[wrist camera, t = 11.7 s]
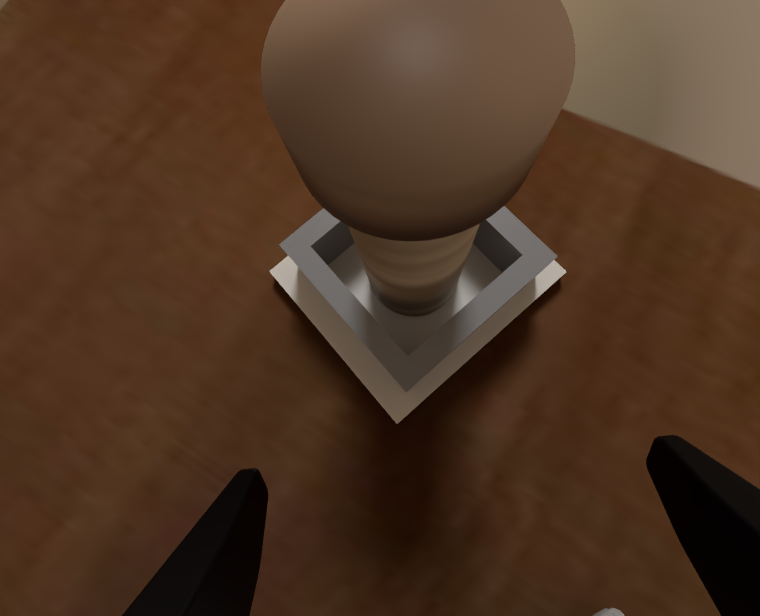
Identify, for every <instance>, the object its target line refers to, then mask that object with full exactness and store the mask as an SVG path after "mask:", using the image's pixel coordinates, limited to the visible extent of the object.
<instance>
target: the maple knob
mask: <svg viewBox="0 0 760 616" xmlns="http://www.w3.org/2000/svg"><path fill="white" fill-rule="evenodd" d="M574 67H575V43H574V37H573V31H572V27H571V24H570V21H569V18H568V16H567V12H566V10H565V8H564V6H563V4H562V3H561V1H560V0H285V2H284V3H283V5H282V6H281V8H280V9H279V11H278V12H277V14H276V16H275V18H274V20H273V22H272V24H271V26H270V29H269V32H268V35H267V37H266V40H265V44H264V49H263V54H262V60H261V81H262V90H263V95H264V99H265V102H266V106H267V109H268V111H269V114H270V116H271V118H272V120H273V122H274V125H275V127H276V129H277V130H278V132H279V134H280V136H281V138H282V140H283V142H284V144H285V146H286V148H287V150H288V152H289V154H290V156H291V158H292V160H293V162H294V164H295V166H296V168H297V170H298V172H299V173H300V175H301V177H302V179H303V181H304V183H305V185H306V186H307V188H308V190H309V191H310V193H311V194H312V196H313V197H314V198H315V199H316V200H317V201H318V203H319V204H320V205H321V206H322V207H323V208H324V209H325V210H326V211H328V212H329V213H330V214H331V215H332V216H333V217H335V218H336V219H338V220H339V221H341V222H342V223H344V224H346V225H347V226H348V227H349V230H350V232H351V235H352V237H353V240H354V243H355V245H356V248H357V250H358V253H359V256H360V258H361V261H362V263H363V266H364V269H365V271H366V274H367V276H368V279H369V282H370V284H371V287H372V289H373V292H374V294H375V295H376V297H377V299H378V300H379V301H380V302H381V303H382V304H383V305H384V306H385V307H386V308H388V309H389V310H391V311H393V312H395V313H397V314H400V315H404V316H423V315H427V314H430V313H432V312H434V311H436V310H438V309H439V308H441V307H442V306H443V305H444V304H445V303H446V302H447V301H448V300H449V299H450V297H451V296H452V294H453V292H454V290H455V288H456V285H457V283H458V280H459V277H460V275H461V272H462V269H463V267H464V264H465V262H466V259H467V256H468V254H469V251H470V249H471V246H472V243H473V241H474V238H475V235H476V233H477V230H478V228H479V225H480V223H481V222H483V221H484V220H486V219H488V218H489V217H491V216H492V215H494V214H495V213H496V212H497V211H498V210H500V209H501V208H502V207H503V206H504V205H505V204H506V203H507V202H508V201H509V200H510V199H511V198H512V197H513V196H514V195H515V194H516V192H517V191H518V189H519V188H520V187H521V185H522V184H523V182H524V181H525V179H526V177H527V175H528V173H529V171H530V169H531V167H532V165H533V163H534V162H535V160H536V158H537V156H538V154H539V152H540V150H541V148H542V146H543V144H544V142H545V140H546V138H547V136H548V134H549V132H550V130H551V128H552V126H553V124H554V123H555V121H556V119H557V117H558V115H559V113H560V111H561V109H562V107H563V105H564V103H565V101H566V99H567V95H568V93H569V90H570V87H571V83H572V79H573V73H574Z"/></svg>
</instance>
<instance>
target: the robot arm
mask: <svg viewBox="0 0 760 616" xmlns="http://www.w3.org/2000/svg"><path fill="white" fill-rule="evenodd" d="M646 465H647V469H648V472H649V474H650V476H651V479H652V481H653V483H654V485H655V488H656V490H657V492H658V494H659V497H660V499H661V501H662V503H663V506H664V508H665V510H666V512H667V515H668V517H669V519H670V521H671V524H672V526H673V528H674V530H675V532H676V535H677V537H678V539H679V541H680V543H681V545H682V547H683V548H684V550H685V552H686V554H687V556H688V557H689V559H690V561H691V563H692V565H693V566H694V568H695V570H696V572H697V574H698V575H699V577H700V579H701V581H702V582H703V584H704V586H705V588H706V590H707V591H708V593H709V595H710V597H711V598H712V600H713V602H714V604H715V606H716V607H717V609H718V611H719V613H720V614H721V616H760V489H758V488H757V487H755V486H754V485H752V484H751V483H749V482H748V481H746V480H745V479H743V478H742V477H740V476H739V475H737V474H736V473H734V472H733V471H731V470H730V469H728V468H726V467H725V466H723V465H722V464H720V463H719V462H717V461H716V460H714V459H713V458H711V457H710V456H708V455H707V454H705V453H704V452H702V451H701V450H699V449H698V448H696V447H695V446H693V445H692V444H690V443H689V442H687V441H686V440H684V439H682V438H681V437H678V436H675V435H669V436H658V437H656V438H655V439H654V441H653V443H652V446H651V449H650V451H649V454H648V456H647V459H646ZM267 503H268V490H267V487H266V484H265V482H264V480H263V478H262V476H261V473H260V471H259V470H258V469H256V468H253V469H242V470H240V471H239V472H237V474H236V475H235V476H234V477H233V479H232V480H231V481H230V482H229V483H228V485H227V486H226V487H225V488H224V490H223V491H222V492H221V493H220V495H219V496H218V497H217V498H216V500H215V501H214V502H213V503H212V505H211V506H210V507H209V508H208V510H207V511H206V512H205V513H204V515H203V516H202V517H201V518H200V519H199V521H198V522H197V523H196V524H195V526H194V527H193V528H192V529H191V531H190V532H189V533H188V534H187V536H186V537H185V538H184V539H183V541H182V542H181V543H180V544H179V546H178V547H177V548H176V549H175V551H174V552H173V553H172V554H171V555H170V557H169V558H168V559H167V560H166V562H165V563H164V564H163V565H162V567H161V568H160V569H159V570H158V572H157V573H156V574H155V575H154V577H153V578H152V579H151V580H150V582H149V583H148V584H147V585H146V587H145V588H144V589H143V590H142V591H141V593H140V594H139V595H138V596H137V598H136V599H135V600H134V601H133V603H132V604H131V605H130V606H129V608H128V609H127V610H126V611H125V613H124V614H123V615H122V616H249V615H250V611H251V606H252V601H253V597H254V592H255V588H256V583H257V579H258V574H259V569H260V562H261V554H262V546H263V537H264V529H265V520H266V512H267Z"/></svg>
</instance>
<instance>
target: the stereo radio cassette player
mask: <svg viewBox="0 0 760 616" xmlns="http://www.w3.org/2000/svg"><path fill="white" fill-rule="evenodd" d="M593 616H625V615H624V614H623V613H622V612H621V611H620V610H617V609H615V608H610V609H606V608H605V609H603V610H601V611H599V612H598V613H596V614H594V615H593Z"/></svg>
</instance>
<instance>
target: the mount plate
mask: <svg viewBox="0 0 760 616" xmlns="http://www.w3.org/2000/svg"><path fill="white" fill-rule="evenodd" d="M279 245H280V246H281V248H282V249H283V250H284V251H285V252H286V253H287V255H288V256H287V257H286V258H285V259H284V260H282V261H281V262H280V263H279V264H278V265H276V266H275V267H274V268H273V269H272V270H270V271H269V272H270V273H271V274H272V275H273V276H274V278H275V279H276V280H277V281H278V282H279V284H280V285H281V286H282V287H283V288H284V290H285V291H286V292H287V293H288V294H289V296H290V297H291V298H292V299H293V300H294V302H295V303H296V304H297V305H298V306H299V308H300V309H301V310H302V311H303V312H304V314H305V315H306V316H307V317H308V318H309V320H310V321H311V322H312V323H313V324H314V326H315V327H316V328H317V329H318V330H319V332H320V333H321V334H322V335H323V336H324V337H325V339H326V340H327V341H328V342H329V343H330V345H331V346H332V347H333V348H334V349H335V351H336V352H337V353H338V354H339V355H340V357H341V358H342V359H343V360H344V361H345V363H346V364H347V365H348V366H349V367H350V369H351V370H352V371H353V372H354V373H355V375H356V376H357V377H358V378H359V379H360V381H361V382H362V383H363V384H364V385H365V387H366V388H367V389H368V390H369V391H370V393H371V394H372V395H373V396H374V397H375V399H376V400H377V401H378V402H379V403H380V405H381V406H382V407H383V408H384V409H385V411H386V412H387V413H388V414H389V415H390V417H391V418H392V419H393V420H394V421H395V423H396V424H398V423H399V422H400V421H401V420H402V419H403V418H405V417H406V416H407V415H408V414H409V413H410V412H411V411H412V410H414V409H415V408H416V407H417V406H418V405H419V404H420V403H421V402H422V401H424V400H425V399H426V398H427V397H428V396H429V395H430V394H431V393H432V392H434V391H435V390H436V389H437V388H438V387H439V386H440V385H441V384H442V383H444V382H445V381H446V380H447V379H448V378H449V377H450V376H451V375H452V374H454V373H455V372H456V371H457V370H458V369H459V368H460V367H461V366H462V365H464V364H465V363H466V362H467V361H468V360H469V359H470V358H471V357H472V356H474V355H475V354H476V353H477V352H478V351H479V350H480V349H481V348H482V347H484V346H485V345H486V344H487V343H488V342H489V341H490V340H491V339H492V338H494V337H495V336H496V335H497V334H498V333H499V332H500V331H501V330H502V329H504V328H505V327H506V326H507V325H508V324H509V323H510V322H511V321H513V320H514V319H515V318H516V317H517V316H518V315H519V314H520V313H521V312H523V311H524V310H525V309H526V308H527V307H528V306H529V305H530V304H531V303H533V302H534V301H535V300H536V299H537V298H538V297H539V296H540V295H541V294H543V293H544V292H545V291H546V290H547V289H548V288H549V287H550V286H551V285H553V284H554V283H555V282H556V281H557V280H558V279H559V278H560V277H561V276H563V275H564V274H565V273H566V271H565V270H564V269H563V268H562V267H561V266H560V265H559V264H558V263H557V262H556V261H555V260H554V259H556V258H557V257H558V256H557V255H556V254H555V253H553V252H552V251H551V250H550V249H549V248H548V247H547V246H546V245H545V244H544V243H543V242H542V241H541V240H540V239H539V238H538V237H536V236H535V235H534V234H533V233H532V232H531V231H530V230H529V229H528V228H527V227H526V226H525V225H524V224H523V223H522V222H520V221H519V220H518V219H517V218H516V217H515V216H514V215H513V214H512V213H511V212H510V211H509V210H508V209H507V208H506V207H505V206H503V207H502V208H501V209H500V210H498V211H497V212H496V213H495V214H494V215H492V216H491V217H489V218H488V219H486V220H484V221H483V222H481V223H480V225H479V228H478V230H477V233H476V235H475V238H474V241H473V243H472V246H471V249H470V251H469V254H468V256H467V259H466V262H465V264H464V267H463V269H462V272H461V275H460V277H459V280H458V283H457V285H456V288H455V290H454V292H453V294H452V296H451V297H450V299H449V300H448V301H447V302H446V303H445V304H444V305H443V306H442V307H441V308H439V309H438V310H436V311H434V312H432V313H430V314H427V315H423V316H404V315H400V314H397V313H395V312H393V311H391V310H389V309H388V308H386V307H385V306H384V305H383V304H382V303H381V302H380V301H379V300H378V299H377V297H376V295H375V294H374V292H373V289H372V287H371V284H370V282H369V279H368V276H367V274H366V271H365V269H364V266H363V263H362V261H361V258H360V256H359V253H358V250H357V248H356V245H355V243H354V240H353V237H352V235H351V232H350V230H349V227H348V226H347V225H346V224H344V223H342V222H341V221H339V220H338V219H336V218H335V217H333V216H332V215H331V214H330V213H329V212H328V211H326V210H325V209H324V208H323V209H322V210H321V211H320V212H318V213H317V214H316V215H315V216H314V217H312V218H311V219H310V220H309V221H307V222H306V223H305V224H304V225H303V226H301V227H300V228H299V229H298V230H296V231H295V232H294V233H293V234H292V235H290V236H289V237H288V238H287V239H286V240H284V241H283V242H282V243H281V244H279Z"/></svg>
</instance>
